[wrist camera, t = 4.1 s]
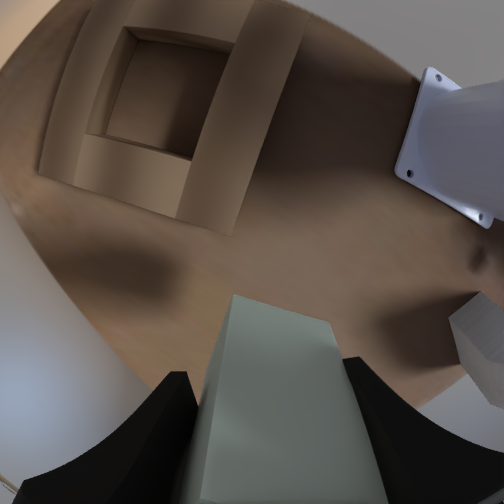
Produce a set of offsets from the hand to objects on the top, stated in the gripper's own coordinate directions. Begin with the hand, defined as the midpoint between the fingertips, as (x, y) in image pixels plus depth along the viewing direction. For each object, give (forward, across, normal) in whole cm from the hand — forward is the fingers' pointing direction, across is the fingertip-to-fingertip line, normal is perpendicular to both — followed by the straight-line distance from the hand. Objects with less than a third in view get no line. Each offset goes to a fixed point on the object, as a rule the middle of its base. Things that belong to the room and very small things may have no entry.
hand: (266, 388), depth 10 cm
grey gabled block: (+10, -18, +7) cm, 21 cm away
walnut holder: (+9, +4, -12) cm, 16 cm away
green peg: (+2, 0, 0) cm, 2 cm away
